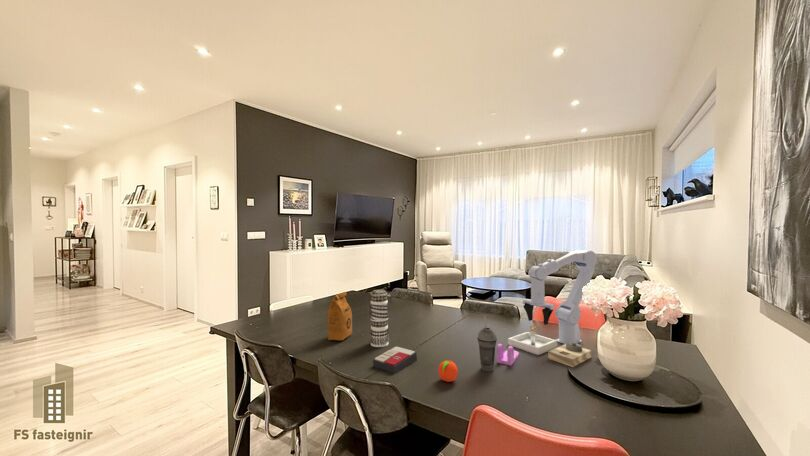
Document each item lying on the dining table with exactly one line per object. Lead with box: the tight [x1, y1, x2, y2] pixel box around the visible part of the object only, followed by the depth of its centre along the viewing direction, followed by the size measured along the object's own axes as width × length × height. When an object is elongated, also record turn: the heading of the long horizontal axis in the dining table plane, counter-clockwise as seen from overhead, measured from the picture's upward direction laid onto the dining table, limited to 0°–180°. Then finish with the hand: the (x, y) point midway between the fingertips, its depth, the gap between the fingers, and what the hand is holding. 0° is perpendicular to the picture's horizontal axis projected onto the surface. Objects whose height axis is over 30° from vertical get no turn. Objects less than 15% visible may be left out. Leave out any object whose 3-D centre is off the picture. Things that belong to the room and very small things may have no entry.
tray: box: [507, 331, 558, 356], centre depth 147 cm, size 15×15×3 cm
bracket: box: [496, 343, 520, 366], centre depth 133 cm, size 13×6×7 cm, turn 145°
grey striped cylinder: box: [368, 289, 390, 348], centre depth 152 cm, size 9×9×25 cm
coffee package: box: [327, 291, 353, 342], centre depth 160 cm, size 10×12×22 cm
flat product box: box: [372, 346, 418, 374], centre depth 130 cm, size 11×4×15 cm
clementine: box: [437, 359, 459, 383], centre depth 114 cm, size 8×7×7 cm
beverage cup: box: [477, 315, 497, 372], centre depth 124 cm, size 7×7×20 cm
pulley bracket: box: [547, 342, 592, 368], centre depth 133 cm, size 15×10×6 cm, turn 126°
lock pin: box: [529, 325, 537, 346], centre depth 146 cm, size 3×3×8 cm
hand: (538, 322), depth 148 cm, fingers open, 7 cm apart
